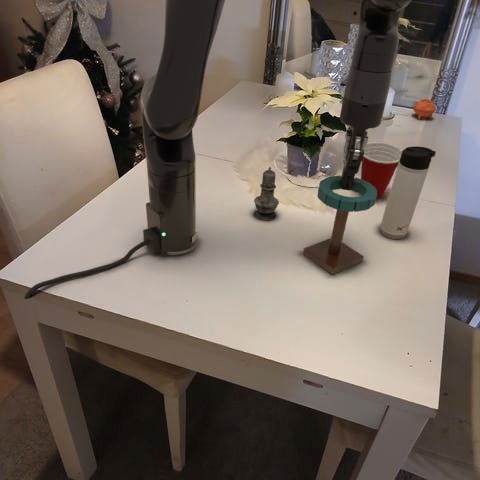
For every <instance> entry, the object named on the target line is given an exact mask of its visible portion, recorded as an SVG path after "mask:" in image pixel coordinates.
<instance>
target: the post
mask: <svg viewBox="0 0 480 480" xmlns="http://www.w3.org/2000/svg"><path fill="white" fill-rule="evenodd" d="M349 213H350V212H349V211H341V210H339V209H338V210H337V209H336V212H335V217H334V221H333V226H332V231H331V236H330V237H329V238H327V239H325V240H321V241H319V242H316V243H313V244H311V245H308V246H306V247H304V248H303V251H302V255H304V256H305V257H306V258H308V259H309V260H310V261H312V262H313V263H315V264H316V265H318V266H319V267H320V268H322V269H323V270H324V271H325V272H327V273H328V274H329V275H331V276H334V275H336V274H338V273H340V272H342V271H344V270H347V269H349V268H351V267H354V266H356V265H358V264H361V263H363V260H364V255H362V254H361V253H360V252H358V251H356V250H355V249H353V248H352V247H351V246H349V245H347V244H346V243H344V242H343V238H344V235H345V231H346V225H347V222H348V219H349V218H348V217H349Z"/></svg>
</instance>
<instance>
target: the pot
mask: <svg viewBox="0 0 480 480" xmlns="http://www.w3.org/2000/svg"><path fill="white" fill-rule="evenodd" d="M412 110H413V111H414V113H415V116H417V118H418V119H417V120H421V118H422V117H428V119H431V118H432V117H433V115H434V113H435V112H436V110H437V108H436V105H435V103H433V101H432V100H431V99H428V98H422V99H420V101H417V102H416V103H414V105H413V106H412Z"/></svg>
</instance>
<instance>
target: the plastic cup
mask: <svg viewBox="0 0 480 480" xmlns="http://www.w3.org/2000/svg"><path fill="white" fill-rule="evenodd" d="M402 151H403V150H402V149H401V148H400V147H399V146H397V145H395V144H393V143H392V144H391V143H388V142H384V141H383V142H381V141H372V142H371V141H369V142H367V145H366V147H365V149H364V155H363V158H362V161H361V170H360V179H362V180H364V181H367V182H369V183H370V184H371V185H373V186H374V187H375V188H376V189H377V198H376V200H380V199H382V197H383V196H384V194H385V192H386V190H387V187H388V186H389V184H390V182H391V180H392V178H393V176H394V175H395V173H396V170H397V166H398V164H399V160H400V158H401V154H402Z"/></svg>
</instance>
